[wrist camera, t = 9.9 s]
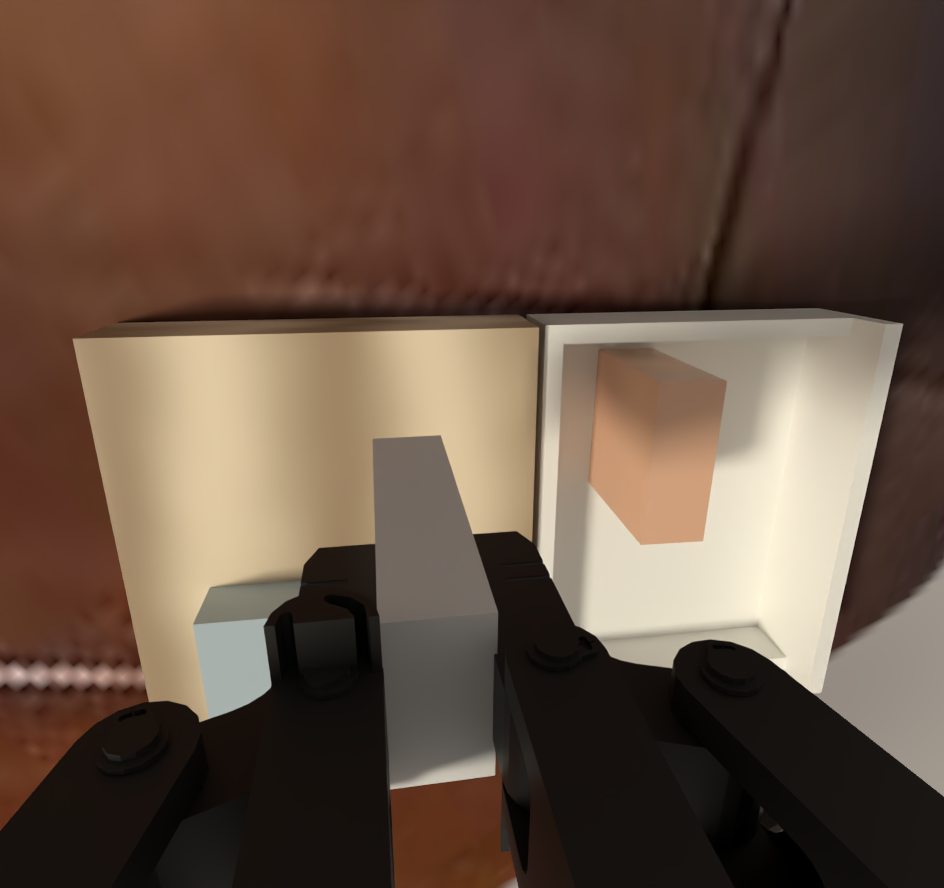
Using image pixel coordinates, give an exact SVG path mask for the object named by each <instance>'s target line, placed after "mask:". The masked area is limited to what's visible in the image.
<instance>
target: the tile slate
mask: <svg viewBox="0 0 944 888" xmlns="http://www.w3.org/2000/svg"><path fill="white" fill-rule="evenodd" d="M300 587H301V581H288V582H275V583H262V584H249V585H235V586H222V587H210V588H209V590H208V593H207V595H206V597H205V599H204V601H203V603H202V606H201V608H200V610H199V612H198V614H197V616H196V619H195V621H194V623H193V629H194V635H195V641H196V646H197V652H198V658H199V664H200V669H201V675H202V681H203V687H204V692H205V698H206V704H207V710H208V715H209V719H210V718H213V717H216V716H219V715H222V714H225V713H227V712H230V711H233V710H235V709H237V708H240V707H242V706H244V705H247V704H249V703H250V702H252V701H254V700H255V699H257V698H258V697H260V696H262V695H263V694H264V693H265V692H267V691H268V690H269V689H270V688H271V678H270V670H269V663H268V656H267V649H266V642H265V635H264V628H263V626H264V625H265V623H266V621H267V619H268V617H269V616H270V614H271V613H272V612H273V611H274V610H275V609H277V608H278V607H279V606H280V605H282V604H283V603H284V602H285V601H288V600H290V599H292V598H295V597H297V596H299V590H300Z"/></svg>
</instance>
